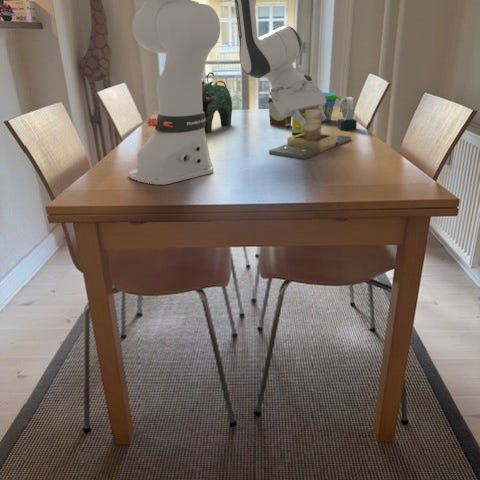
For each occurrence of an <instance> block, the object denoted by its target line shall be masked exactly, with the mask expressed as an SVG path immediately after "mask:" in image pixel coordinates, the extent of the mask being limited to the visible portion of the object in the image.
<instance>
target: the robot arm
mask: <svg viewBox="0 0 480 480" xmlns="http://www.w3.org/2000/svg"><path fill="white" fill-rule="evenodd" d="M256 2H257V0H234V4H235V6H234V7H235V15H236V23H237V31H238V39H239V40H238V41H239V55H238V56H239V63H240V66H241V68H242V70H243V71H244V73H245V74H247V75H248V76H251V77H253V78H256V79H261V78H263V77H265V78H266V79H267V80H268V81H269V83H270V86H271V89H270V91H269V95H270V97H272V101H273V103H274V105H275V107H276V109H277V111H278V112H279V114H280V115H281V116H282V117H289V116H292V118H293V119H295V120H296V121H298V122H299V123H300V125H301V126H305V125H307V124H308V121H307V119H306V118H303V117H302V116H301V115H300V114H302V113H305V109H322V120H321V121H324V120H325V119H326V116H325V115H324V112H323V108H322V107H323V106H324V105H325V104H326V98H325V96H324V95H323V93H324V92H322V90H321V89H320V88H319V86H318V85H317V84H316V83H314V81H315V80H314V77H312V75H309V74H308V75H307V74H305V73H302V72H300V71H298V70H297V68H295V66H294V65H293V64H294V62H296V60H297V59H298V57H299V55H300V53H301V50H302V43H303V42H302V38H301V36H300V35H299V33H298V32H297V31H296V30H295V28H293V27H292V26H290V25H283V26H280V27H278V28H275V29H273V30H272V31H269V32H268V33H266V34H263V35H261V36H259V37H258V27H257V19H256V18H257V17H256V16H257V15H256V5H257V4H256ZM131 29H132V34H133V37H134V40H135V41H136V43H137V44H138V45H139V46H140V47H142V48H143V49H145V50H147V51H150V52H152V53H155V54H165V63H164V66H163V70H162V73H161V75H159V77H158V78H157V80H156V95H157V104H158V105H157V106H158V114H157V117H156V118H154V117H153V118H152V117H148V118H147V120H146V122H145V123H146V125H147V126H149V127H153V128H154V129H155V130H154V132H153V133H152V134H151V136H150V137H149V138H148V140H147V141H146V142H145V143H144V144H143V145H142V147H140V149H139V150H138V152H137V158H136V166H137V167H136V169H133V170H131V171H129V172H128V177H129V179H131V180H133V179H134V180H133V181H136V180H137V181H136V182H140V183H144V184H149V183H150V184H149V185H169V184H174V183H178V182H181V181H185V180H189V179H193V178H197V177H200V176H206V175H209V174H212V173H214V167H213V164H212V161H211V156H210V151H209V145H208V139H207V136H206V133H205V130H204V127H205V126H206V124H205V121H206V119H205V113H204V112H203V103H202V81H203V76H204V70H205V66H206V62H207V59H208V57H209V55H210V53H211V51H212V50H213V49H214V47H215V46H216V44H217V43H218V41H219V40H220V39H219V38H220V36H221V35H220V34H221V22H220V19H219V15H218V13H217V12H216V10H215V8H213V7H212V6H211V5H210V4H207V3H205V2H204V3H203V2H200V1H195V0H144V2H143V4H142V6H141V7H140V8H139V10H138V11H137V12H136V13H135V15H134V17H133V19H132V25H131ZM292 118H291V119H292Z"/></svg>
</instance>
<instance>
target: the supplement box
mask: <svg viewBox="0 0 480 480" xmlns="http://www.w3.org/2000/svg"><path fill="white" fill-rule="evenodd" d="M300 115H301V116H302V117H303V118H305V113H302V114H300ZM301 133H304V126H301V125H300V123H299V122H298V121H296V120H295V119H293V118H291V136H295V135H298V134H301Z"/></svg>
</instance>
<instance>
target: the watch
mask: <svg viewBox="0 0 480 480" xmlns="http://www.w3.org/2000/svg"><path fill="white" fill-rule="evenodd" d="M338 106H339V107H340V109H341V116H342V118H338V119H337V129H338V130H340V131H356V130H357V124H358V123H357V122H358V120H356V119H355V118H354V115H355V98H354V97H353V96H345V97H343V98H341V101H340V100H339V102H338Z"/></svg>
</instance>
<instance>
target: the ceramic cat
mask: <svg viewBox="0 0 480 480" xmlns="http://www.w3.org/2000/svg"><path fill="white" fill-rule="evenodd" d="M210 75H211V76H213V77H214V76H215V75H214V73H213V72H208V74H207V75H206V80H207V81H206V82H207V83H206V82H205V81H204V80H203V79H202V103H203V112H204V113H205V119H206V121H205V124H206V126H205V127H204V130H205V134H209V133H212V131H213V130H212V129H213V128H212V127H213V120H214V115H215V113H216V112H217V113H218V115H219V119H220V120H219V121H220V126H222V127H229V126H231V125H232V114H233V100H232V96H231V93H230V91H229V90H228V88H227V84H226V83H225V82H224V81H222V80H219V81H217V82H215V83H214V81H210V82H209V76H210ZM213 83H214V84H213ZM218 83H221V85H220V84H218ZM222 84H223V85H222Z"/></svg>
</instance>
